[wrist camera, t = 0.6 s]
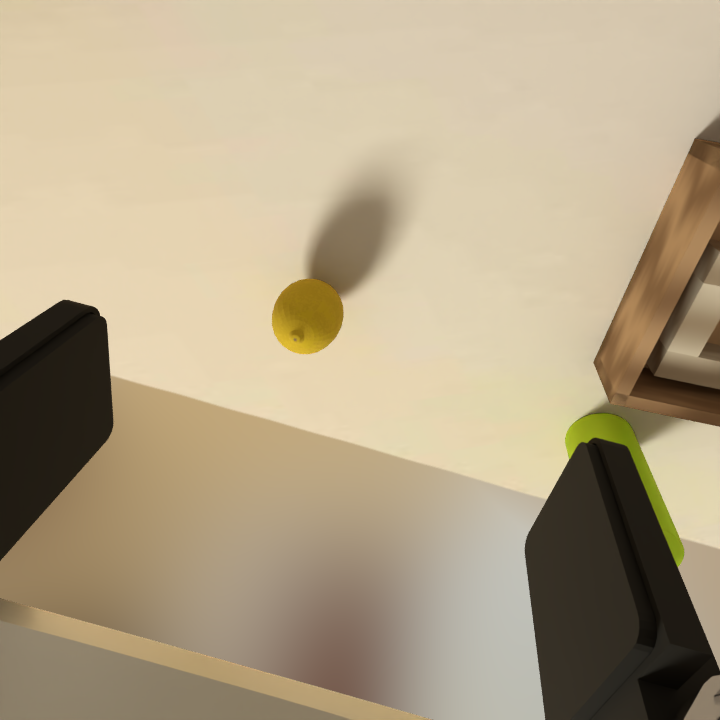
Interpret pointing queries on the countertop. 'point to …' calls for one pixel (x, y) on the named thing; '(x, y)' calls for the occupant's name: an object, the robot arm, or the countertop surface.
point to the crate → (673, 305)
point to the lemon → (307, 316)
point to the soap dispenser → (623, 434)
